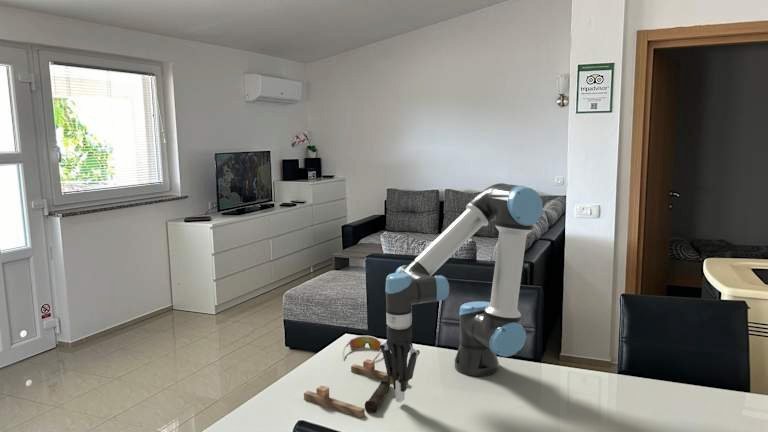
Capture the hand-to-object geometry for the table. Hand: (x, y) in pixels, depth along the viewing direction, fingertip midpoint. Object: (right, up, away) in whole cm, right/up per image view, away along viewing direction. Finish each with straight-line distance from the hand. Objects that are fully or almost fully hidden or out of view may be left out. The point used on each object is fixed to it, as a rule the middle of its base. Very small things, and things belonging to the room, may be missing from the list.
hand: (400, 400), depth 173 cm
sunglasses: (-13, +4, +40) cm, 42 cm away
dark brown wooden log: (-7, -1, +5) cm, 8 cm away
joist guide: (-13, 0, +9) cm, 16 cm away
